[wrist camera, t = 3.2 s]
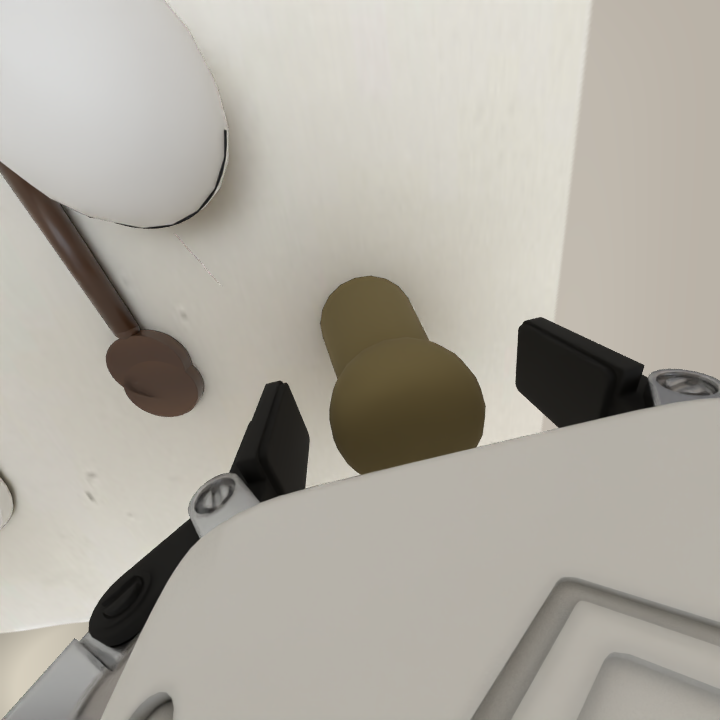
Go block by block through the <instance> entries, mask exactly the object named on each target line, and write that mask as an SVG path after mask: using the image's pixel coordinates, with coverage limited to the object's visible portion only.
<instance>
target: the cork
mask: <svg viewBox="0 0 720 720" xmlns="http://www.w3.org/2000/svg"><path fill="white" fill-rule="evenodd" d="M320 324H321V330H322V335H323V339H324V342H325V345H326V348H327V351H328V353H329V356H330V359H331V362H332V365H333V368H334V371H335V373H336V376H337V379H338V380H337V382H336V384H335V386H334V389H333V393H332V398H331V404H330V409H329V420H330V425H331V430H332V435H333V439H334V441H335V444H336V446H337V449H338V450H339V452H340V453H341V455H342V456H343V458H344V459H345V460H346V462H347V463H348V464H349V465H350V466H351V467H352V468H353V469H354V470H355V471H356V472H358V473H359V474H361V475H363V474H367V473H371V472H375V471H379V470H383V469H388V468H392V467H396V466H400V465H404V464H408V463H413V462H417V461H421V460H425V459H430V458H434V457H438V456H442V455H446V454H451V453H455V452H459V451H463V450H468V449H472V448H476V447H477V445H478V443H479V441H480V439H481V437H482V435H483V427H484V420H485V407H486V406H485V402H484V399H483V395H482V392H481V388H480V386H479V383H478V381H477V379H476V377H475V376H474V374H473V373H472V372H471V371H470V369H469V368H468V367H467V366H466V365H465V363H464V362H463V361H462V360H461V359H460V358H459V357H458V356H457V355H456V354H455V353H453V352H451V351H449V350H447V349H445V348H444V347H442V346H440V345H438V344H436V343H434V342H431V341H429V339H428V337H427V335H426V333H425V331H424V329H423V327H422V325H421V323H420V321H419V319H418V317H417V315H416V313H415V311H414V309H413V307H412V305H411V303H410V301H409V299H408V297H407V296H406V295H405V294H404V292H403V291H402V290H401V289H400V288H399V286H397V285H395V284H394V283H392V282H390V281H389V280H387V279H384V278H379V277H374V276H366V277H359V278H354V279H352V280H350V281H348V282H346V283H344V284H342V285H340V286H339V287H338V288H337V289H336V290H335V291H334V292H333V293H332V294H331V295H330V296H329V298H328V300H327V302H326V304H325V305H324V307H323V310H322V316H321V323H320Z"/></svg>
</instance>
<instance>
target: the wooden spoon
mask: <svg viewBox="0 0 720 720" xmlns="http://www.w3.org/2000/svg"><path fill="white" fill-rule="evenodd" d="M0 173H1V174H2V176H3V177H4V178H5V180H6V181H7V183H8V184H9V186H10V187H11V188H12V190H13V191H14V193H15V194H16V196H17V197H18V198H19V200H20V201H21V203H22V204H23V206H24V207H25V208H26V210H27V211H28V213H29V214H30V215H31V217H32V218H33V220H34V221H35V223H36V224H37V225H38V227H39V228H40V230H41V231H42V233H43V234H44V235H45V237H46V238H47V240H48V241H49V243H50V244H51V245H52V247H53V248H54V250H55V251H56V252H57V254H58V255H59V257H60V258H61V260H62V261H63V262H64V264H65V265H66V267H67V268H68V270H69V271H70V272H71V274H72V275H73V277H74V278H75V280H76V281H77V282H78V284H79V285H80V287H81V288H82V290H83V291H84V292H85V294H86V295H87V297H88V298H89V299H90V301H91V302H92V304H93V305H94V307H95V308H96V309H97V311H98V312H99V314H100V315H101V317H102V318H103V319H104V321H105V322H106V324H107V325H108V327H109V328H110V329H111V331H112V332H113V334H114V335H115V336H116V337H118V338H119V339H118V340H116V341H115V342H114V343H113V344H112V345H111V346H110V347H109V349H108V351H107V355H106V363H107V367H108V370H109V372H110V374H111V375H112V377H113V378H114V379H115V380H116V381H117V382H118V383H119V384H120V385H121V386H123V387H124V390H125V392H126V394H127V396H128V397H129V399H130V400H131V401H132V402H133V403H134V404H135V405H136V406H138V407H139V408H141V409H142V410H144V411H146V412H148V413H151V414H154V415H157V416H163V417H174V416H180V415H183V414H185V413H187V412H189V411H190V410H191V409H192V408H193V407H194V406H195V405H196V403H197V402H198V401H199V399H200V398H201V396H202V394H203V390H204V383H203V379H202V377H201V375H200V373H199V372H198V370H197V369H196V368H195V367H194V366H193V365H192V363H191V359H190V356H189V354H188V352H187V351H186V349H185V348H184V347H183V346H182V345H181V344H180V343H179V342H178V341H176V340H175V339H174V338H172V337H170V336H168V335H166V334H164V333H161V332H158V331H153V330H140V329H139V326H138V324H137V323H136V321H135V320H134V318H133V317H132V315H131V313H130V312H129V310H128V309H127V307H126V306H125V304H124V303H123V301H122V299H121V298H120V296H119V295H118V293H117V292H116V290H115V289H114V287H113V286H112V284H111V282H110V281H109V279H108V278H107V276H106V275H105V273H104V272H103V270H102V269H101V267H100V265H99V264H98V262H97V261H96V259H95V258H94V256H93V255H92V253H91V252H90V250H89V248H88V247H87V245H86V244H85V242H84V241H83V239H82V238H81V236H80V235H79V233H78V231H77V230H76V228H75V227H74V225H73V224H72V222H71V221H70V219H69V217H68V216H67V214H66V213H65V211H64V210H63V208H62V207H61V205H60V204H59V202H57V201H55V200H53V199H50V198H49V197H48V196H46V195H45V194H43V193H42V192H41V191H39V190H38V189H36V188H35V187H34V186H32V185H31V184H30V183H28V182H27V181H25V180H24V179H23V178H21V177H20V176H19V175H18V174H16V173H15V172H14V171H12V170H11V169H10V168H8V167H7V166H6V165H4V164H3V163H2V162H1V161H0Z"/></svg>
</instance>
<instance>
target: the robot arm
mask: <svg viewBox="0 0 720 720" xmlns="http://www.w3.org/2000/svg"><path fill="white" fill-rule="evenodd" d="M643 368H644V365H643V364H641V363H638V362H636V361H634V360H632V359H630V358H628V357H626V356H623V355H621V354H619V353H617V352H615V351H613V350H611V349H609V348H606V347H604V346H602V345H600V344H597V343H596V342H594V341H591V340H589V339H587V338H585V337H583V336H581V335H579V334H576V333H574V332H572V331H570V330H568V329H566V328H563V327H561V326H559V325H557V324H555V323H553V322H551V321H549V320H546V319H544V318H542V317H539V318H535V319H531V320H527V321H524V322H523V324H522V325H521V326H520V327H519V330H518V346H517V365H516V387H517V389H518V391H519V392H520V393H521V394H522V395H524V396H525V397H526V398H527V399H528V400H529V401H530V402H531V403H532V404H533V405H534V406H536V407H537V408H538V409H539V410H540V411H541V412H542V413H543V414H544V415H545V416H546V417H548V418H549V419H550V420H551V421H552V422H553V423H554V424H555V425H556V426H557V427H558V428H557V429H553V430H548V431H544V432H540V433H536V434H531V435H527V436H523V437H519V438H514V439H510V440H506V441H502V442H497V443H493V444H489V445H485V446H480V447H476V448H472V449H468V450H463V451H459V452H455V453H451V454H446V455H442V456H438V457H434V458H430V459H425V460H421V461H417V462H413V463H408V464H404V465H400V466H396V467H392V468H388V469H383V470H379V471H375V472H371V473H367V474H363V475H359V476H354V477H350V478H346V479H342V480H338V481H334V482H330V483H325V484H321V485H317V486H314V487H310V488H306V489H305V484H306V474H307V463H308V453H309V442H310V439H309V434H308V431H307V428H306V426H305V424H304V421H303V419H302V416H301V414H300V412H299V409H298V407H297V404H296V402H295V400H294V397H293V395H292V392H291V390H290V388H289V385H288V384H287V383H283V382H282V381H277V382H272V383H268V384H266V385H265V388H264V390H263V393H262V395H261V398H260V401H259V403H258V406H257V408H256V411H255V413H254V416H253V418H252V421H250V423H249V425H248V427H247V430H246V432H245V435H244V437H243V440H242V442H241V445H240V447H239V450H238V452H237V455H236V457H235V460H234V462H233V465H232V467H231V470H230V472H229V473H225V474H221V475H218V476H216V477H214V478H212V479H211V480H209V481H207V482H206V483H205V484H204V485H203V486H201V487H200V488H199V489H198V491H197V492H196V493H195V494H194V496H193V497H192V499H191V501H190V503H189V507H188V513H189V516H190V519H189V520H188V521H186V522H185V523H184V524H183V525H182V526H180V527H179V528H178V529H177V530H176V531H175V532H173V533H172V534H171V535H170V536H169V537H167V538H166V539H165V540H164V541H163V542H161V543H160V544H159V545H158V546H157V547H156V548H154V549H153V550H152V551H151V552H150V553H148V554H147V555H146V556H145V557H144V558H143V559H141V560H140V561H139V562H138V563H137V564H135V565H134V566H133V567H132V568H131V569H129V570H128V571H127V572H126V573H125V574H124V575H122V576H121V577H120V578H119V579H118V580H117V581H116V582H115V583H114V584H113V585H112V586H111V587H110V588H109V589H108V590H107V591H106V593H105V594H104V595H103V596H102V598H101V599H100V601H99V602H98V604H97V606H96V607H95V609H94V611H93V613H92V616H91V618H90V621H89V631H88V633H87V634H86V635H85V636H84V637H83V638H82V639H81V640H80V641H78V640H77V639H74V640H73V641H72V642H71V643H70V644H69V645H68V646H67V647H66V648H65V650H64V651H63V652H62V653H61V654H60V655H59V656H58V657H57V659H56V660H55V661H54V662H53V663H52V664H51V665H50V666H49V667H48V669H47V670H46V671H45V672H44V673H43V674H42V675H41V676H40V677H39V679H38V680H37V681H36V682H35V683H34V684H33V685H32V686H31V687H30V689H29V690H28V691H27V692H26V693H25V694H24V695H23V697H21V699H20V700H19V701H18V702H17V703H16V704H15V705H14V706H13V707H12V709H11V710H10V711H9V712H8V713H7V714H6V715H5V716H4V717H3V719H2V720H720V381H719V380H718V379H716V378H714V377H711V376H708V375H706V374H702V373H699V372H695V371H688V370H682V369H662V370H657V371H654V372H652V373H651V374H650V375H649V377H648V378H647V377H646V376H644V375H642V372H643ZM12 511H13V501H12V495H11V493H10V491H9V489H8V487H7V485H6V484H5V482H4V481H3V480H2V479H1V478H0V529H1V528H2V527H3V526H4V525H5V524H6V523H7V521H8V520H9V519H10V517H11V515H12Z"/></svg>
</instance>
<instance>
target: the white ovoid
mask: <svg viewBox="0 0 720 720" xmlns="http://www.w3.org/2000/svg"><path fill="white" fill-rule="evenodd" d="M0 161H1V162H2V163H3V164H4V165H6V166H7V167H8V168H10V169H11V170H12V171H14V172H15V173H16V174H18V175H19V176H20V177H21V178H23V179H24V180H25V181H27V182H28V183H30V184H31V185H32V186H34V187H35V188H36V189H38V190H39V191H41V192H42V193H43V194H45V195H46V196H48V197H49V198H50V199H53V200H55V201H57V202H59V203H61V204H63V205H65V206H67V207H69V208H71V209H74V210H76V211H78V212H80V213H82V214H84V215H86V216H88V217H90V218H97V219H101V220H105V221H110V222H114V223H117V224H121V225H125V226H129V227H135V228H144V229H154V228H163V227H169V226H172V225H176V224H179V223H181V222H183V221H185V220H187V219H189V218H191V217H192V216H194V215H195V214H197V213H198V212H199V211H200V210H202V209H203V208H205V207H206V205H207V204H208V203H209V202H210V200H211V199H212V198H213V196H214V195H215V194H216V193H217V191H218V190H219V189H220V187H221V183H222V180H223V177H224V174H225V171H226V167H227V164H228V124H227V120H226V117H225V113H224V109H223V105H222V101H221V97H220V94H219V90H218V88H217V85H216V83H215V80H214V78H213V75H212V73H211V71H210V69H209V67H208V66H207V64H206V62H205V60H204V58H203V56H202V54H201V52H200V50H199V48H198V46H197V44H196V42H195V41H194V39H193V37H192V35H191V33H190V31H189V29H188V28H187V27H186V25H185V24H184V23H183V22H182V21H181V19H180V18H179V17H178V16H177V15H176V13H175V12H174V11H173V10H172V9H171V7H170V6H169V5H168V4H167V3H166V1H165V0H0ZM174 234H175V233H174ZM175 235H176V234H175ZM176 236H177V235H176ZM177 237H178V236H177ZM178 238H179V237H178ZM179 240H180V241H181V239H180V238H179ZM181 242H182V241H181ZM182 243H183V242H182ZM183 244H184V243H183ZM184 246H185V247H186V245H185V244H184ZM186 248H187V247H186ZM187 249H188V248H187ZM188 250H189V249H188ZM189 251H190V250H189ZM190 252H191V251H190ZM191 253H192V252H191ZM192 254H193V253H192ZM193 255H194V254H193ZM194 256H195V255H194ZM195 257H196V256H195ZM196 258H197V257H196ZM197 259H198V258H197ZM198 261H199V259H198ZM199 262H200V261H199ZM200 263H201V262H200ZM201 264H202V263H201ZM202 265H203V264H202ZM203 266H204V265H203ZM204 268H205V269H206V267H205V266H204ZM206 270H207V269H206ZM207 271H208V270H207ZM208 272H209V271H208ZM209 274H210V275H211V273H210V272H209ZM211 276H212V275H211ZM212 277H213V276H212ZM213 278H214V277H213ZM214 279H215V278H214ZM215 280H216V279H215ZM216 281H217V280H216ZM217 282H218V281H217ZM218 283H219V282H218ZM219 284H220V283H219ZM220 285H221V284H220ZM221 286H222V285H221Z"/></svg>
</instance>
